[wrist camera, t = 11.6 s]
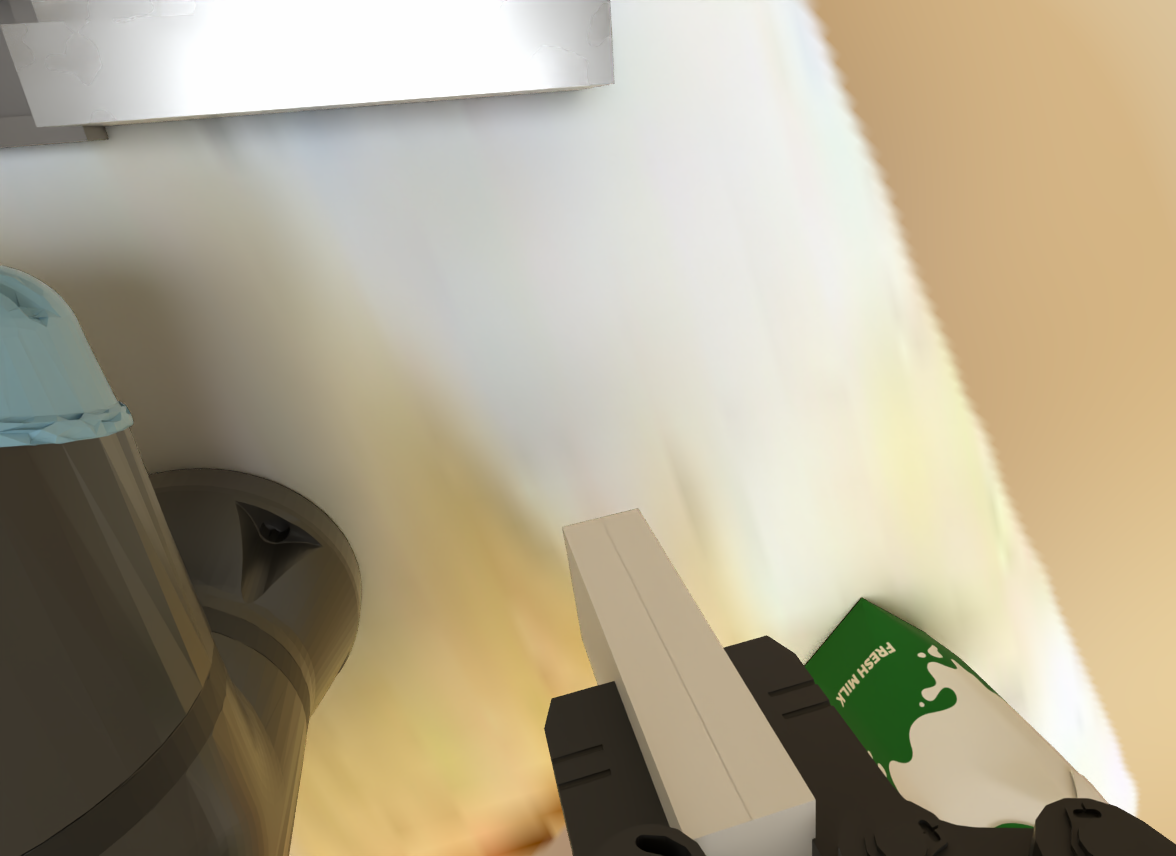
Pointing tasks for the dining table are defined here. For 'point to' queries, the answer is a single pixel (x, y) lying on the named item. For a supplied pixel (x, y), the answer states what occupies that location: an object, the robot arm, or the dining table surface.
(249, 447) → the dining table surface
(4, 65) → the tray
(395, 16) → the slot plate
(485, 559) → the dining table surface
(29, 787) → the robot arm
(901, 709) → the milk carton
